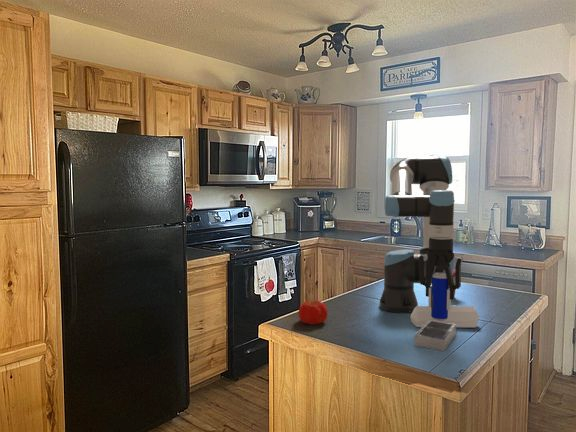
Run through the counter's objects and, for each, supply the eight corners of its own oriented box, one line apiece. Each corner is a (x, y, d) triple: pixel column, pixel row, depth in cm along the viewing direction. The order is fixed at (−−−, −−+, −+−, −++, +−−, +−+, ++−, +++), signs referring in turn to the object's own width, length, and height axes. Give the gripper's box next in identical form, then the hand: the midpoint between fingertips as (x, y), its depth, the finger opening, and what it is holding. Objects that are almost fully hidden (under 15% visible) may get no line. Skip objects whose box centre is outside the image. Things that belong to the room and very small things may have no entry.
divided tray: (414, 345, 140) (414, 334, 139) (428, 329, 154) (429, 319, 154) (444, 351, 135) (444, 339, 135) (456, 334, 149) (456, 324, 149)
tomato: (319, 316, 170) (319, 297, 169) (332, 325, 160) (332, 304, 159) (293, 319, 166) (293, 300, 166) (305, 329, 156) (305, 308, 155)
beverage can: (434, 315, 151) (435, 271, 150) (450, 318, 148) (450, 273, 146) (428, 319, 147) (429, 274, 146) (444, 322, 144) (445, 276, 142)
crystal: (414, 319, 154) (485, 320, 152) (410, 304, 159) (478, 304, 158) (411, 334, 158) (480, 334, 157) (407, 318, 164) (474, 319, 162)
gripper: (409, 237, 147) (408, 306, 149) (468, 240, 137) (466, 314, 139) (416, 234, 153) (415, 301, 155) (472, 238, 143) (471, 308, 145)
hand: (439, 307), depth 147 cm, fingers closed on beverage can, 5 cm apart
